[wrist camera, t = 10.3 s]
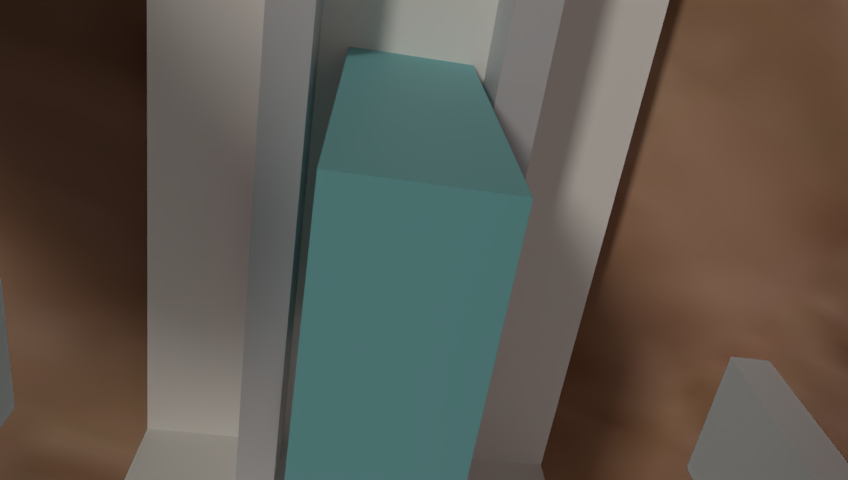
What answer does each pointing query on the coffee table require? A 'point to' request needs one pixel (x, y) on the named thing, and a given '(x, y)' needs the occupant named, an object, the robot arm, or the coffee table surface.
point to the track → (294, 195)
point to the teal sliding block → (404, 273)
